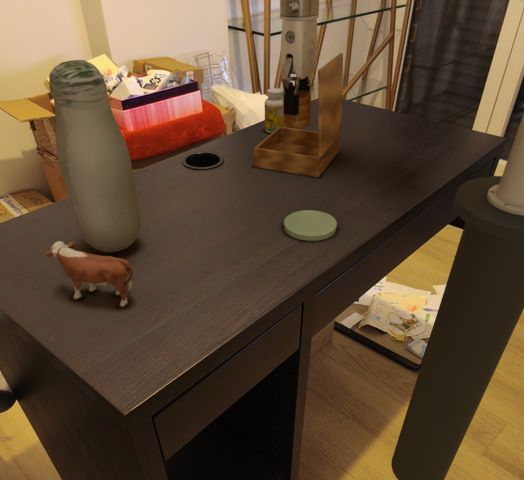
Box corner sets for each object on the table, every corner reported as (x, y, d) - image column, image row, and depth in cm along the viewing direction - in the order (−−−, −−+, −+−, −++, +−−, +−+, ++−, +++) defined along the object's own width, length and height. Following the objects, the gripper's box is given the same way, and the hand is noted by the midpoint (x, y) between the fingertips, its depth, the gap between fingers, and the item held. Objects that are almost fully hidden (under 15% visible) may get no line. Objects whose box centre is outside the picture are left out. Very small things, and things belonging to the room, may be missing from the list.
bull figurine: (69, 279, 75) (53, 233, 70) (144, 295, 72) (134, 248, 67) (51, 295, 72) (33, 248, 67) (129, 312, 69) (117, 264, 64)
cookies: (313, 120, 106) (315, 91, 102) (304, 129, 102) (305, 99, 98) (288, 118, 108) (288, 88, 104) (278, 126, 104) (278, 96, 100)
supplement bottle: (289, 131, 124) (290, 90, 118) (273, 135, 122) (273, 94, 115) (276, 125, 127) (277, 85, 121) (260, 130, 125) (260, 89, 118)
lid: (317, 70, 90) (320, 70, 89) (340, 53, 100) (343, 53, 100) (318, 156, 100) (321, 156, 100) (339, 133, 110) (341, 133, 110)
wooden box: (254, 166, 107) (253, 148, 105) (278, 143, 118) (279, 126, 115) (318, 177, 103) (319, 158, 100) (338, 152, 113) (340, 134, 110)
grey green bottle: (117, 268, 78) (68, 75, 59) (73, 250, 82) (14, 64, 63) (157, 241, 84) (125, 58, 65) (115, 226, 88) (73, 50, 69)
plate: (342, 220, 89) (343, 215, 88) (327, 245, 83) (327, 240, 82) (294, 211, 92) (294, 206, 91) (275, 234, 85) (276, 229, 85)
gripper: (302, 16, 84) (299, 124, 96) (331, 2, 96) (325, 100, 108) (263, 14, 86) (265, 120, 99) (296, 1, 98) (294, 97, 110)
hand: (296, 109), depth 103 cm, fingers closed on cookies, 6 cm apart
